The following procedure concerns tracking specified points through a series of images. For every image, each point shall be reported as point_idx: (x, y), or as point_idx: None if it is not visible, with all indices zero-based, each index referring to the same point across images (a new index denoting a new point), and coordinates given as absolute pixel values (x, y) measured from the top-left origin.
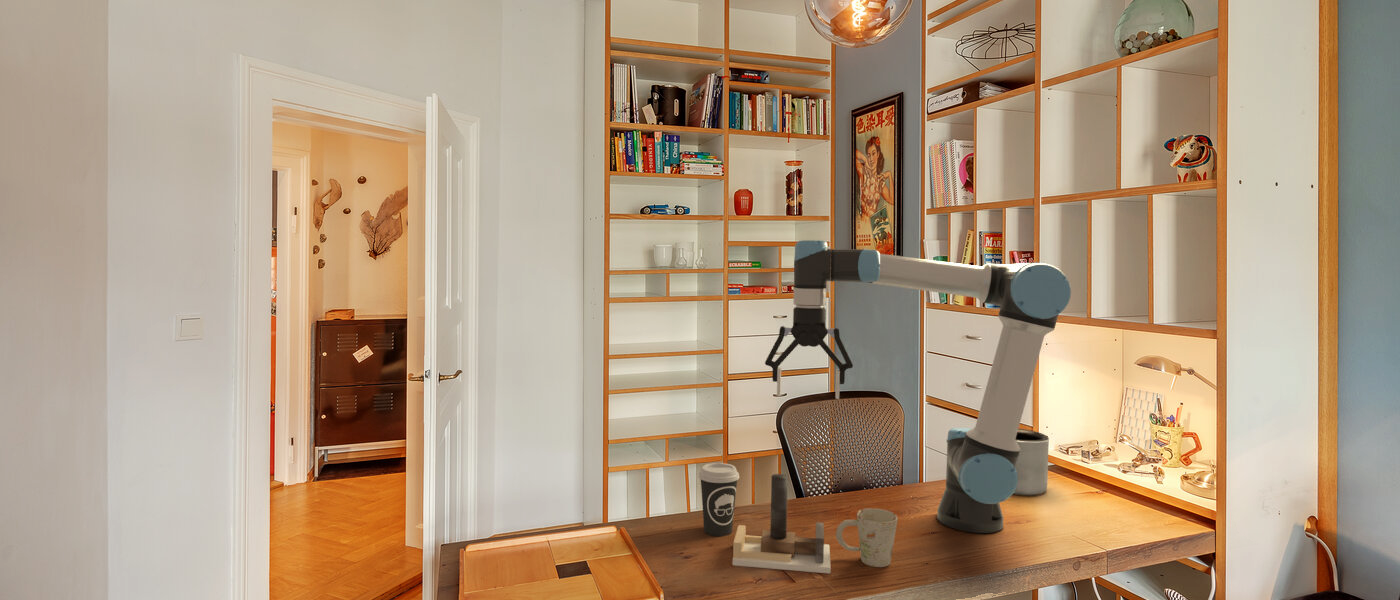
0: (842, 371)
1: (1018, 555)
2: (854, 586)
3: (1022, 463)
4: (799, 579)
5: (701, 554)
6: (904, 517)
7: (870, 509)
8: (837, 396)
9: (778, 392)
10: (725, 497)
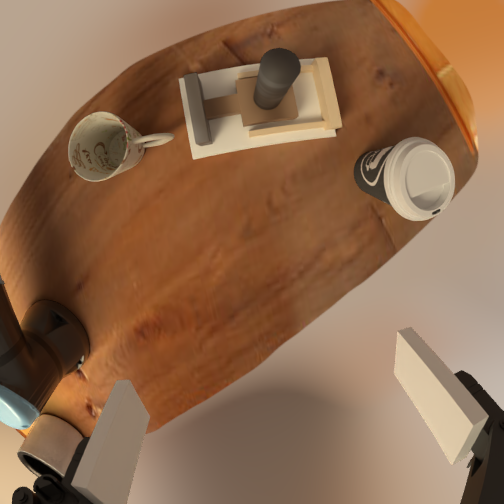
0: (69, 487)
1: (4, 249)
2: (146, 61)
3: (36, 436)
4: (218, 49)
5: (367, 84)
6: (122, 328)
7: (110, 175)
8: (120, 387)
9: (414, 339)
10: (386, 150)
